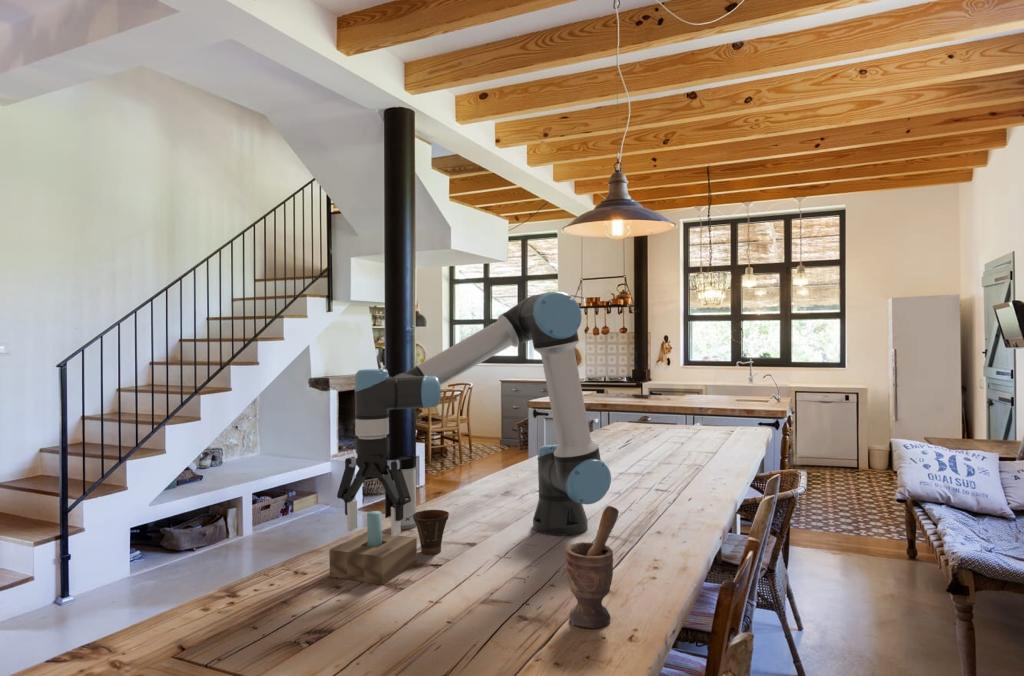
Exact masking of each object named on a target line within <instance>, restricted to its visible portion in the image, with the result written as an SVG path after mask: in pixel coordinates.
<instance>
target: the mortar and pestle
mask: <svg viewBox="0 0 1024 676" xmlns="http://www.w3.org/2000/svg"><path fill="white" fill-rule="evenodd" d="M618 517H619V510H618V508H616V507H614V506H611V505H606V507H605V508H604V509H603V512H602V514H601V517H600V521H599V526H598V530H597V532H596V535H595V539H594V542H576V543H572V544H569V545H567V547H566V549H565V553H566V557H565V558H566V578H567V582H568V584H569V588H570V591H571V593H572V595H574V597H575V599H576V601H577V602H576V605H574V606H573V607H572V608H571V609H570V612H569V616H568V617H569V621H570V623H571V625H572V626H576V627H580V628H581V627H582V628H586V629H601V628H603V627H605V626H607V625H608V624H609V623H610V621H611V614H610V612H609V610H608V609H607V608H606V607H605V606H604V605H603V600H604V598H605V597H607V595H608V594H609V593H610V590H611V586H612V582H613V577H614V575H613V574H614V557H613V556H614V553H613V552H614V551H613V549H612V548H611V547H609V546H608V545H606V543H607V541H608V539H609V536H610V534H611V533H612V531H613V529H614V527H615V525H616V523H617V520H618Z"/></svg>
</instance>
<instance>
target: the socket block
mask: <svg viewBox="0 0 1024 676" xmlns="http://www.w3.org/2000/svg"><path fill="white" fill-rule="evenodd" d="M417 541H418V540H417V537H415V536H414V537H413V536H407V535H400V534H398V535H396V536H391V534H389V533H382V545H381V546H379V547H377V548H376V547H369V546H368V543H367V531H365V532H363V533H361V534H359V535H357V536H355V537H352V538H351V539H349V540H346V541H345V542H342V543H340V544H339V545H336V546H334V547H332V548H330V549H329V550H328V552H329V556H328V557H329V577H331V578H336V577H338V578H337V579H342V578H346V579H345V580H349V579H352V580H351V581H355V580H359V581H358V582H361V581H363V582H362V583H368V582H369V584H370V583H371V584H373V585H374V584H375V585H381V586H383V585H385V584H386V583H388V582H390V581H391V580H394V579H395V578H397V576H399V575H400V574H402V573H403V572H405V571H407V570H409V569H410V568H411V567H414V566H415V565H416V564H418V551H417V549H418V546H417V544H418V542H417Z"/></svg>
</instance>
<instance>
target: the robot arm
mask: <svg viewBox="0 0 1024 676" xmlns="http://www.w3.org/2000/svg"><path fill="white" fill-rule="evenodd" d="M496 320H497V321H496V322H492V324H489V325H487V326H486V327H484V328H482V329H480V330H479V331H477V332H475V333H473V334H471V335H470V336H468V337H466V338H465V339H463V340H460V341H459V342H458V343H456V344H453V345H452V346H449V348H447V349H444V350H442V351H441V352H439V353H437V354H436V355H433V356H432V357H431V358H428V359H426V360H425V361H423V362H421V363H419V364H418V365H416V366H414V367H412V368H411V369H409V370H407V371H405V372H402V373H401V372H400V373H398V374H396V375H395V376H390V375H389V371H388V369H386V368H370V369H369V368H368V369H365V368H364V369H359V370H357V372H356V373H355V379H354V380H355V381H354V384H355V385H354V404H355V405H354V408H355V411H354V412H355V420H354V422H355V426H354V427H355V429H354V430H355V432H354V433H355V436H356V437H357V438H356V439H355V454H356V457H355V456H351V457H347V458H345V459H344V472H343V474H342V478H341V481H340V484H339V488H338V490H337V494H336V497H337V499H341V500H343V502H344V514H345V516H346V518H347V520H346V521H347V522H346V523H347V532H351V531H354V530H357V529H358V500H356V496H357V494H358V492H359V491H360V488H361V487H362V485H363V483H364V482H365V480H366V478H367V479H368V478H372V479H377V480H378V481H379V482H380V483H381V485H382V486H383V488H384V490H385V492H386V494H387V495H388V497H389V499H390V501H391V502H392V506H391V507H390V533H391V534H390V535H391V536H396V535H400V534H402V533H401V532H402V529H401V520H402V519H403V506H404V505H405V504H407V503H409V502H411V497H410V494H409V491H408V488H407V485H406V482H405V479H404V476H403V473H402V470H401V460H396V461H394V460H392V459H391V460H390V457H389V453H390V437H389V436H388V435H389V434H390V421H389V420H390V417H389V416H390V410H407V409H408V410H409V409H410V410H411V409H425V410H426V409H428V408H437V407H438V406H440V403H441V398H442V397H441V395H442V393H441V392H442V391H441V390H442V388H441V386H442V385H444V384H446V383H448V382H450V381H451V380H453V379H455V378H457V377H459V376H460V375H462V374H464V373H465V372H467V371H469V370H471V369H472V368H474V367H476V366H477V365H479V364H481V363H483V362H485V361H486V360H489V359H490V358H492V357H494V356H495V355H497V354H499V353H501V352H502V351H504V350H506V349H507V348H510V347H514V348H516V347H519V346H520V345H523V344H524V343H526V342H527V343H528V342H529V341H532V346H533V350H534V351H535V352H537V353H539V354H540V356H541V361H542V365H543V373H544V377H545V382H546V383H545V384H546V388H547V392H548V399H549V403H550V409H551V414H552V415H551V416H552V420H553V425H554V431H555V436H556V442H557V444H546V445H545V444H544V445H542V446H540V447H539V448H538V450H537V451H538V452H537V453H538V454H537V469H538V471H537V472H538V473H537V475H538V480H537V481H538V502H537V505H536V508H535V511H534V516H533V519H532V529H534V530H535V531H536V532H538V533H540V534H545V535H550V536H551V535H552V536H572V535H577V534H581V533H584V532H585V531H587V530H588V526H589V524H588V518H587V514H586V511H585V508H584V505H593V504H595V503H598V502H600V501H601V500H603V498H604V497H605V496H606V495H607V492H608V491H609V489H610V487H611V484H612V474H611V470H610V468H609V467H608V465H607V464H606V463H605V462H604V461H602V459H601V454H600V448H599V445H598V444H597V443H596V442H595V441H593V440H592V438H591V437H592V436H591V433H590V426H589V422H588V417H587V416H588V415H587V411H586V406H585V401H584V400H585V399H584V395H583V390H582V384H581V378H580V373H579V367H578V363H577V356H576V351H575V348H576V346H577V345H578V343H579V341H580V339H579V333H578V330H579V328H580V326H581V323H582V309H581V308H580V305H579V303H578V302H577V300H576V299H574V298H573V297H572V296H571V295H569V294H568V293H566V292H563V291H555V290H554V291H547V292H543V293H540V294H535V295H531V296H528V297H526V298H525V299H523V300H521V301H520V302H519V303H517V304H515V306H513V307H512V308H510V309H508V310H507V311H505V312H503V313H502V314H499V315H498V317H497V319H496ZM356 467H358V470H357V472H356ZM355 472H356V474H355ZM353 478H354V479H353ZM393 480H394V482H393ZM394 483H395V484H394Z"/></svg>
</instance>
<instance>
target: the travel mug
mask: <svg viewBox="0 0 1024 676" xmlns="http://www.w3.org/2000/svg"><path fill="white" fill-rule="evenodd" d="M417 458H418V457H417V455H415V454H413V455H405V456H400V457H399V456H398V457H397V458H395V459H393V461H396V460H401V470H402V473H403V476H404V479H405V482H406V485H407V488H408V491H409V494H410V497H411V502H409V503H407V504H405V505H404V506H403V519H402V520H401V530H410V529H413V528H415V527H417V526H416V524H415V521H414V519H413V514H415V513H416V512H417V480H416V479H417V475H416V473H417V471H416V470H417V469H416V468H417V467H416V459H417ZM392 480H393V479H392ZM393 482H394V480H393ZM394 484H395V483H394Z"/></svg>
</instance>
